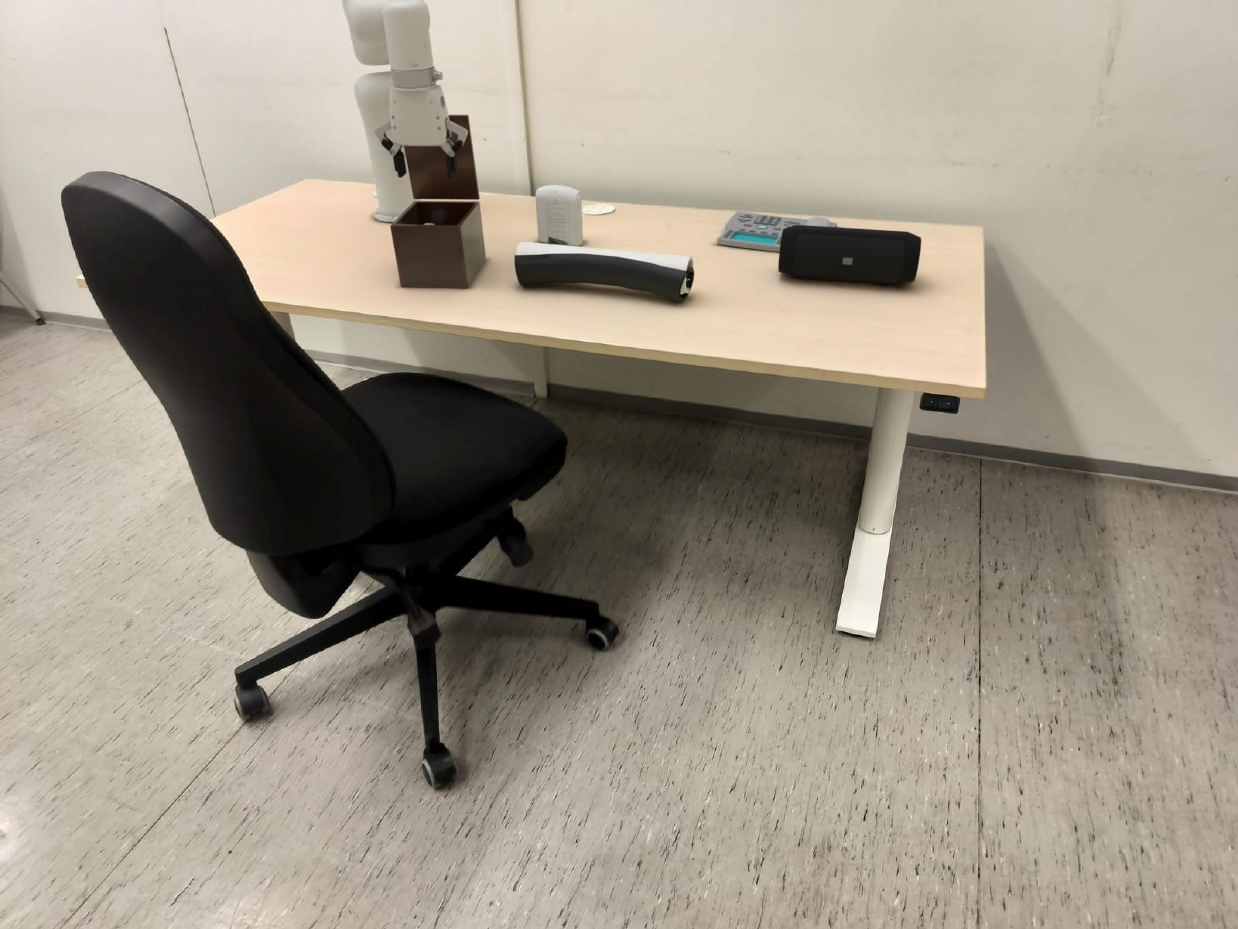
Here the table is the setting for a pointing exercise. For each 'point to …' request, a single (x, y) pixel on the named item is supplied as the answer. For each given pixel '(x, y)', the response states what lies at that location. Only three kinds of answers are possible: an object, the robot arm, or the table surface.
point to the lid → (443, 169)
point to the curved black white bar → (604, 268)
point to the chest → (439, 244)
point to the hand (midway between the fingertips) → (427, 175)
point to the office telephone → (762, 230)
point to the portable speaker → (849, 255)
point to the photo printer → (559, 214)
